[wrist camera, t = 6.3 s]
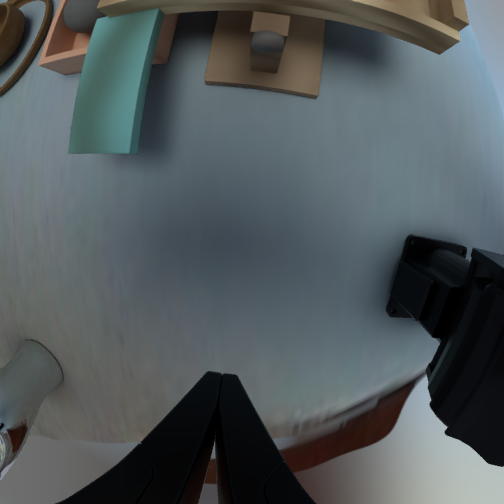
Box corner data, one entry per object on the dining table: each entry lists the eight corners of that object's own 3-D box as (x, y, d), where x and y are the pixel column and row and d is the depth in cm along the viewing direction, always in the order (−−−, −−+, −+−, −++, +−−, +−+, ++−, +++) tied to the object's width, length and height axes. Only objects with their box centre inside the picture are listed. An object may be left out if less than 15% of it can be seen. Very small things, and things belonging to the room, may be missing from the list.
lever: (428, -24, 7) (448, -49, 4) (430, 199, 11) (466, 209, 8) (133, -45, 8) (111, -68, 5) (77, 153, 13) (36, 154, 9)
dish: (193, -29, 12) (184, -54, 9) (167, 63, 15) (150, 45, 12) (94, -13, 12) (76, -30, 9) (64, 75, 15) (38, 65, 11)
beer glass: (11, 342, 22) (-61, 420, 8) (38, 329, 21) (-50, 424, 7) (45, 389, 24) (-11, 474, 9) (77, 383, 23) (15, 489, 9)
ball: (78, -27, 8) (71, -1, 11) (57, 18, 9) (55, 40, 12) (131, -21, 10) (116, 2, 13) (114, 22, 12) (103, 42, 14)
